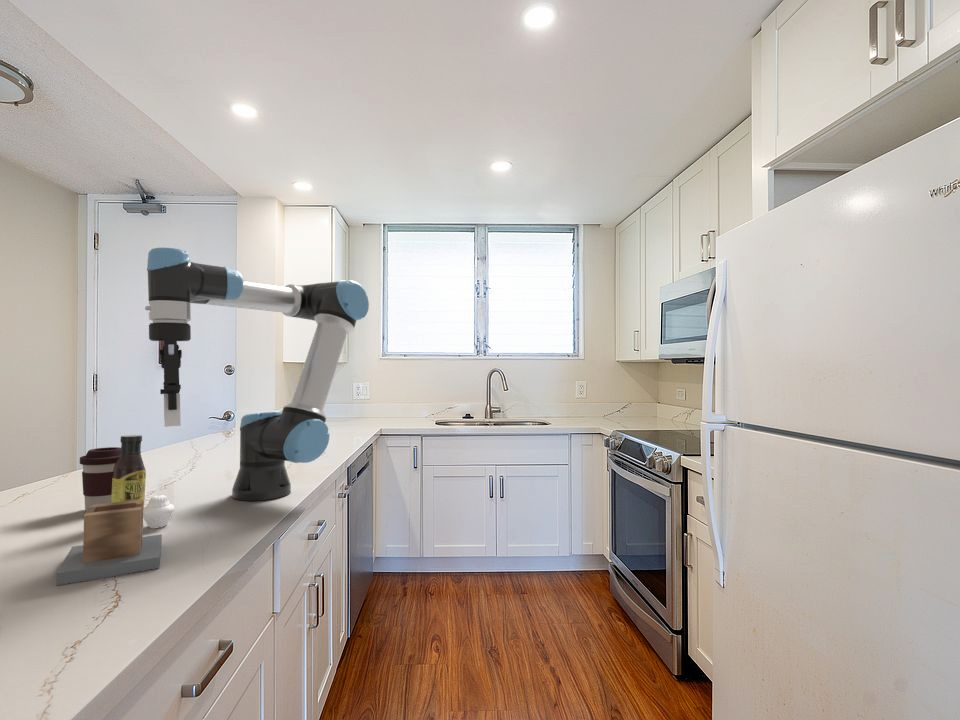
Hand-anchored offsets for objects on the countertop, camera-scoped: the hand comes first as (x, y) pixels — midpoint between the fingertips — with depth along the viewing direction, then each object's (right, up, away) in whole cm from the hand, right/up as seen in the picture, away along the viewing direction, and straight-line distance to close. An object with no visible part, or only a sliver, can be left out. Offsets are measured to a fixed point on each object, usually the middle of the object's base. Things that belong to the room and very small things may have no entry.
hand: (171, 422), depth 105 cm
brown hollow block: (-1, -22, -16) cm, 26 cm away
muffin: (-7, -24, +5) cm, 26 cm away
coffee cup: (-28, -24, +18) cm, 41 cm away
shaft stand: (-1, -24, -16) cm, 28 cm away
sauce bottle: (-15, -24, +7) cm, 29 cm away
